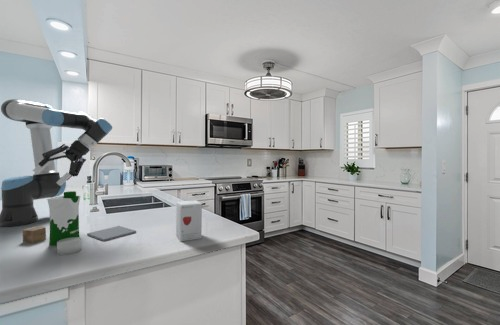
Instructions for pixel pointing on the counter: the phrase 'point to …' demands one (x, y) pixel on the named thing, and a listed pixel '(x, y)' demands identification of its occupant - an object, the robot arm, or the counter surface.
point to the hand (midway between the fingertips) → (47, 178)
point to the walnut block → (34, 234)
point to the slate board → (111, 233)
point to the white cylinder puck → (68, 246)
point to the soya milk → (64, 217)
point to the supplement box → (188, 220)
